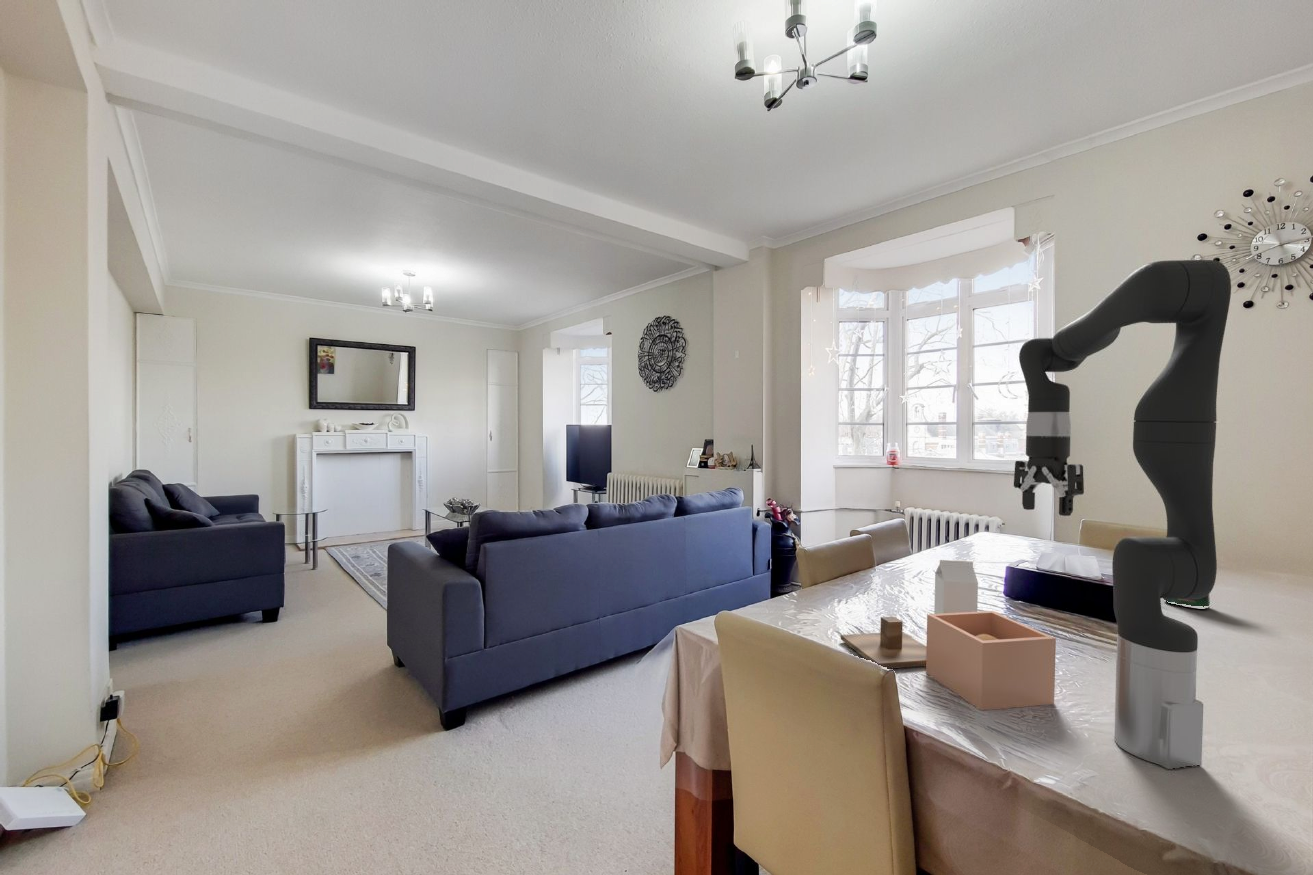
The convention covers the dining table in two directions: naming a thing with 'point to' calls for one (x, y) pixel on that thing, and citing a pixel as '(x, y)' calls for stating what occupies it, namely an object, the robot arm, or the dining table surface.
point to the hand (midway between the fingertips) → (1046, 512)
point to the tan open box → (991, 659)
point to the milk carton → (955, 587)
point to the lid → (888, 645)
